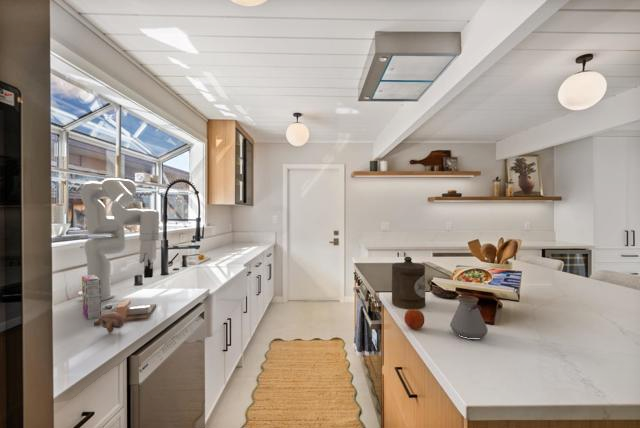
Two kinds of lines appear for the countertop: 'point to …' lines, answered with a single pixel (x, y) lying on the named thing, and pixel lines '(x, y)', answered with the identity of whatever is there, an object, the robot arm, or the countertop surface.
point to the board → (134, 316)
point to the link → (128, 310)
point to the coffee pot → (468, 318)
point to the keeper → (123, 308)
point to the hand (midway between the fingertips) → (148, 277)
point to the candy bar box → (91, 296)
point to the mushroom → (111, 321)
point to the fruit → (414, 319)
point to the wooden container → (408, 284)
